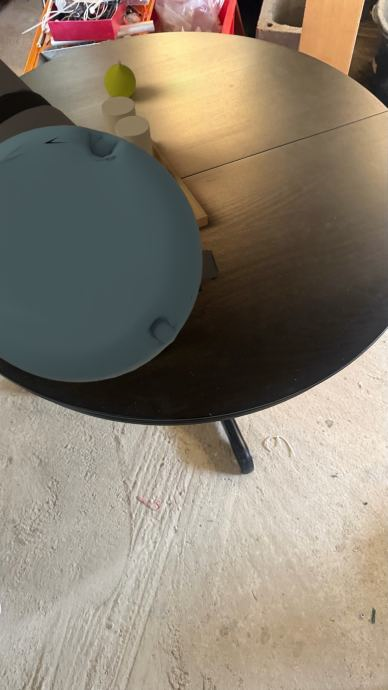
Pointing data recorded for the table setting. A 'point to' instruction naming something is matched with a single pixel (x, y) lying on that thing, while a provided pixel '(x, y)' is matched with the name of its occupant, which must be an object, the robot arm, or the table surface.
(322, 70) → the table surface
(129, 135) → the cream candle
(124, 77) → the ornament
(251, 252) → the table surface
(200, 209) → the tray
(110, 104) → the cream candle
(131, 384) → the table surface
